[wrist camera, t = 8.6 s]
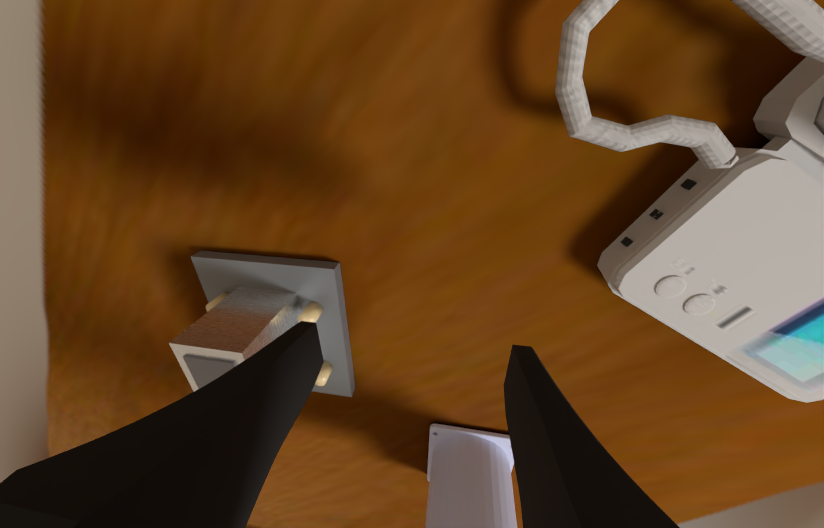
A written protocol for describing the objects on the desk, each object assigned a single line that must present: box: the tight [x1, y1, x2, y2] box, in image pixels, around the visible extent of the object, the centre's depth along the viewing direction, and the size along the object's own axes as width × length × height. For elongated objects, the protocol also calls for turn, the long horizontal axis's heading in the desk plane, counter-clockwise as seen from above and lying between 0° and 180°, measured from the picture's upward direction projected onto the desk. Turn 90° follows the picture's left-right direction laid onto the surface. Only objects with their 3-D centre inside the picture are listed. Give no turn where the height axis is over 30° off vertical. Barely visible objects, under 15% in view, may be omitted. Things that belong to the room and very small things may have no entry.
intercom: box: [555, 0, 824, 402], centre depth 14 cm, size 13×4×25 cm
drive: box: [169, 287, 301, 391], centre depth 21 cm, size 8×5×6 cm, turn 0°
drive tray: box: [190, 251, 355, 397], centre depth 24 cm, size 13×11×2 cm
